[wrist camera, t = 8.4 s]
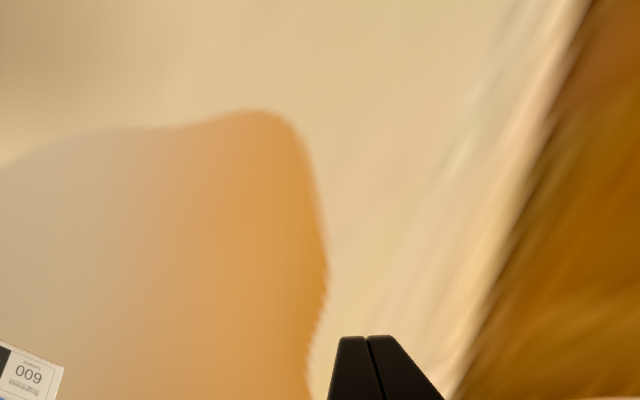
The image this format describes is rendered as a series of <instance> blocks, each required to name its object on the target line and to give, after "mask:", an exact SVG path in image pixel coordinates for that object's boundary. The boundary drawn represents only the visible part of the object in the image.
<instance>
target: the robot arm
mask: <svg viewBox="0 0 640 400" xmlns="http://www.w3.org/2000/svg"><path fill="white" fill-rule="evenodd" d="M327 400H445V399H444V398H443V397H442V396H441V394H440V393H439V392H438V391H437V389H436V388H435V387H434V386H433V385H432V383H431V382H430V381H429V380H428V378H427V377H426V376H425V375H424V374H423V372H422V371H421V370H420V369H419V367H418V366H417V365H416V364H415V363H414V361H413V360H412V359H411V358H410V356H409V355H408V354H407V353H406V352H405V350H404V349H403V348H402V347H401V345H400V344H399V343H398V342H397V341H396V339H395V338H394V337H392V336H390V335H373V336H368V337H367V338H366V339H365V337H363V336H349V337H342V338H340V340H339V344H338V349H337V354H336V358H335V363H334V368H333V373H332V378H331V382H330V387H329V392H328V397H327Z"/></svg>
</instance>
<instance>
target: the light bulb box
mask: <svg viewBox="0 0 640 400" xmlns="http://www.w3.org/2000/svg"><path fill="white" fill-rule="evenodd" d="M63 372H64V367H62V366H60V365H58V364H55V363H53V362H50V361H48V360H46V359H43V358H41V357H39V356H36V355H34V354H32V353H29V352H27V351H25V350H22V349H20V348H18V347H15V346H12V345H10V344H8V343H6V342H3V341H1V340H0V400H55V397H56V394H57V391H58V388H59V385H60V381H61V378H62V375H63Z"/></svg>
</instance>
